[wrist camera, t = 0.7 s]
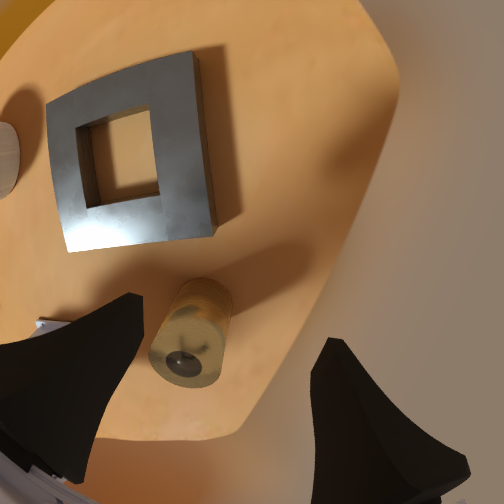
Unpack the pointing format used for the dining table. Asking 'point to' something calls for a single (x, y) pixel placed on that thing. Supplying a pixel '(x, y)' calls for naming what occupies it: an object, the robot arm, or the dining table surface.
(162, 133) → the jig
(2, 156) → the ramekin
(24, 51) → the dining table surface
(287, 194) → the dining table surface
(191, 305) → the bushing
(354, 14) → the dining table surface
